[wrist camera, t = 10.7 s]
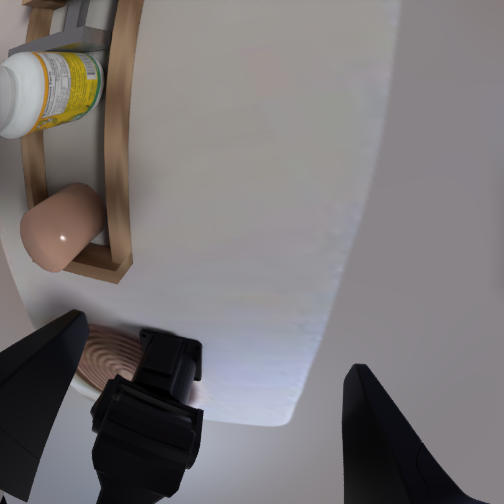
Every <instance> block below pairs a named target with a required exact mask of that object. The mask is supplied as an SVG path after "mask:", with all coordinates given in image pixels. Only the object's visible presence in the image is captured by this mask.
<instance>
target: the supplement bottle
mask: <svg viewBox="0 0 504 504" xmlns="http://www.w3.org/2000/svg"><path fill="white" fill-rule="evenodd" d="M104 82H105V78H104V72H103V68H102V66H101V64H100V62H99V61H98V60H97V59H96V58H95V57H94V56H92V55H90V54H88V53H78V52H20V53H16V54H14V55H12V56H10V57H9V58H7V59H6V60H5V61H4V62H3V63H2V64H1V65H0V136H2V137H4V138H7V139H16V138H20V137H23V136H26V135H29V134H31V133H34V132H38V131H41V130H44V129H47V128H50V127H54V126H57V125H60V124H64V123H68V122H71V121H75V120H78V119H81V118H83V117H84V116H86V115H87V114H89V113H90V112H91V111H92V110H93V109H94V108H95V107H96V105H97V104H98V103H99V101H100V98H101V96H102V93H103V89H104Z"/></svg>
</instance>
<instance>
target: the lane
mask: <svg viewBox="0 0 504 504" xmlns="http://www.w3.org/2000/svg"><path fill="white" fill-rule="evenodd" d="M65 2H66V0H23V1H22V5H25V6H32V10H31V15H30V19H29V25H28V30H27V36H26V43H28V42H31V41H34V40H37V39H40V38H43V37H46V36H49V31H50V25H51V20H52V15H53V10H55V9H57V8H60V7H63V6H65ZM143 2H144V0H119V2H118V7H117V12H116V17H115V22H114V28H113V35H112V41H111V49H110V57H109V65H108V76H107V87H106V103H105V130H104V160H105V188H106V205H107V217H108V228H109V238H110V246H111V247H107V246H102V245H97V244H92V243H89V244H88V245H87V246H86V247H85V248H84V249H83V250H82V251H81V252H80V253H79V254H78V255H77V256H76V257H75V258H74V259H73V260H72V261H71V262H70V263H69V264H68V265H67V266H66V267H65V268H64V269H63V270H64V271H67V272H71V273H75V274H79V275H82V276H86V277H90V278H94V279H98V280H102V281H106V282H110V283H114V284H118V283H119V282H120V280H121V279H122V277H123V276H124V275H125V273H126V272H127V271H128V269H129V268H130V267H131V265H132V264H133V259H132V248H131V235H130V219H129V195H128V137H129V114H130V98H131V86H132V76H133V66H134V58H135V50H136V43H137V36H138V30H139V24H140V18H141V13H142V7H143ZM26 43H25V44H26ZM21 144H22V159H23V169H24V178H25V186H26V193H27V200H28V206H29V210H30V209H32V208H33V207H35V206H36V205H38V204H39V203H41V202H43V201H44V200H46V199H47V198H48V194H47V186H46V176H45V165H44V150H43V130H41V131H38V132H34V133H31V134H29V135H26V136H23V137H21ZM33 262H34V261H33Z"/></svg>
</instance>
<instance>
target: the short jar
mask: <svg viewBox="0 0 504 504" xmlns="http://www.w3.org/2000/svg"><path fill="white" fill-rule="evenodd" d="M105 219H106V215H105V209H104V205H103V203H102V201H101V199H100V197H99V196H98V194H97V193H96V192H95V191H94V190H93V189H92V188H91V187H89V186H88V185H85V184H82V183H73V184H70V185H69V186H67V187H65V188H64V189H62V190H60V191H59V192H57V193H55V194H54V195H52V196H50V197H49V198H47V199H46V200H44V201H43V202H41V203H39V204H38V205H36V206H35V207H33V208H32V209H30V210H29V211H27V212H26V213H25V214H24V215H23V217H22V219H21V223H20V234H21V239H22V242H23V245H24V247H25V249H26V251H27V253H28V254H29V256H30V257H31V258H32V260H33V261H34V262H35V263H36V264H37V265H38V266H40V267H41V268H43V269H44V270H46V271H49V272H59V271H61V270H63V269H64V268H65V267H66V266H67V265H68V264H69V263H70V262H71V261H72V260H73V259H74V258H75V257H76V256H77V255H78V254H79V253H80V252H81V251H82V250H83V249H84V248H85V247H86V246H87V245H88V244H89V243H90V242H91V241H92V240H93V239H94V238H95V237H96V236H97V235H98V234H99V233H100V232H101V231H102V230H103V228H104V225H105Z"/></svg>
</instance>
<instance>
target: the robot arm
mask: <svg viewBox="0 0 504 504" xmlns="http://www.w3.org/2000/svg"><path fill="white" fill-rule="evenodd" d="M88 336H89V326H88V322H87V319H86V316H85V314H84V312H82V311H79V310H75V309H74V310H71V311H69V312H68V313H66V314H64V315H62V316H61V317H59V318H57V319H55V320H54V321H52V322H50V323H49V324H47V325H45V326H43V327H42V328H40V329H38V330H37V331H35V332H33V333H31V334H30V335H28V336H26V337H25V338H23V339H21V340H20V341H18V342H16V343H15V344H13V345H11V346H10V347H8V348H7V349H5V350H3V351H2V352H0V504H7V503H6V500H5V497H4V495H3V494H4V492H6V493H8V494H10V495H12V496H14V497H16V498H18V499H20V500H23V501H25V502H27V501H28V499H29V495H30V491H31V487H32V484H33V481H34V478H35V474H36V471H37V468H38V465H39V462H40V458H41V456H42V453H43V450H44V447H45V444H46V442H47V439H48V436H49V434H50V431H51V428H52V426H53V423H54V421H55V418H56V416H57V413H58V411H59V408H60V406H61V403H62V401H63V399H64V396H65V394H66V392H67V390H68V387H69V385H70V383H71V381H72V379H73V376H74V374H75V372H76V369H77V367H78V364H79V361H80V358H81V355H82V352H83V350H84V347H85V344H86V341H87V339H88ZM139 336H140V341H141V346H142V351H143V356H142V358H141V360H140V362H139V365H138V367H137V369H136V371H135V374H134V376H133V378H132V380H131V381H129V380H127V379H125V378H123V377H122V376H121V375H119V374H117V375H116V376H115V378H114V379H109V380H108V382H107V384H106V386H105V388H104V390H103V392H102V394H101V395H100V396H99V398H98V399H97V401H96V402H95V404H94V405H93V407H92V409H91V411H90V412H91V415H92V418H93V421H92V423H93V426H92V431H93V432H95V433H97V434H98V435H97V438H96V441H95V443H94V446H93V449H92V460H93V465H94V469H95V470H96V472H97V475H98V479H99V482H100V485H101V490H100V493H99V496H98V500H97V503H96V504H155V503H156V502H158V501H159V500H161V499H162V498H164V497H168V498H170V497H171V496H172V495H173V494H175V493H176V492H177V491H178V489H179V486H180V482H181V480H182V477H183V474H184V472H185V469H190V468H191V467H192V466H193V464H194V462H195V460H196V457H197V455H198V451H199V448H200V442H201V432H202V421H203V412H204V410H201V409H196V408H193V407H190V406H188V405H186V404H187V401H188V397H189V394H190V390H191V386H192V383H193V380H194V381H200V380H201V377H202V344H201V343H199V342H196V341H191V340H187V339H182V338H178V337H173V336H169V335H164V334H160V333H156V332H152V331H148V330H141V331H140V333H139ZM342 440H343V463H344V464H343V465H344V504H489V503H485V502H482V501H479V500H476V499H473V498H471V497H469V496H468V495H466V494H465V493H464V492H463V491H462V490H461V489H460V488H459V487H458V486H457V485H456V484H455V482H454V481H453V480H452V479H451V478H450V477H449V475H448V474H447V473H446V472H445V471H444V470H443V469H442V467H441V466H440V465H439V464H438V463H437V461H436V460H435V459H434V457H433V456H432V455H431V453H430V452H429V451H428V449H427V448H426V446H425V445H424V443H423V442H422V441H421V440H420V438H419V436H418V435H417V434H416V432H415V431H414V429H413V428H412V427H411V425H410V424H409V422H408V421H407V420H406V418H405V417H404V415H403V414H402V413H401V411H400V410H399V408H398V407H397V406H396V404H395V403H394V401H393V400H392V399H391V397H390V396H389V395H388V393H387V392H386V391H385V389H384V388H383V386H382V385H381V384H380V382H379V381H378V380H377V378H376V377H375V375H374V374H373V373H372V372H371V370H370V369H369V367H368V366H367V365H366V364H354V365H353V366H352V367H351V369H350V371H349V372H348V374H347V375H346V377H345V379H344V385H343V409H342ZM421 442H422V443H421Z"/></svg>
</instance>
